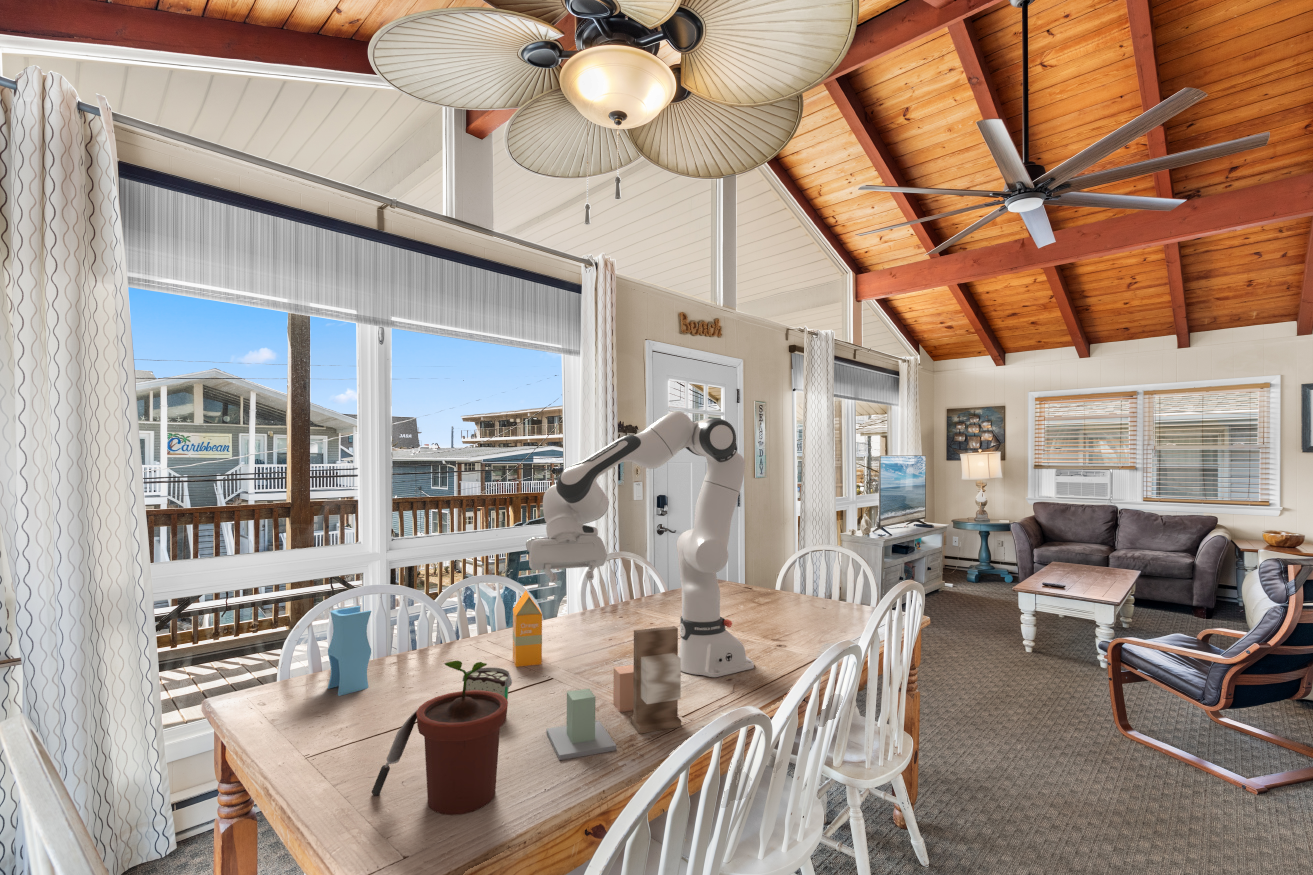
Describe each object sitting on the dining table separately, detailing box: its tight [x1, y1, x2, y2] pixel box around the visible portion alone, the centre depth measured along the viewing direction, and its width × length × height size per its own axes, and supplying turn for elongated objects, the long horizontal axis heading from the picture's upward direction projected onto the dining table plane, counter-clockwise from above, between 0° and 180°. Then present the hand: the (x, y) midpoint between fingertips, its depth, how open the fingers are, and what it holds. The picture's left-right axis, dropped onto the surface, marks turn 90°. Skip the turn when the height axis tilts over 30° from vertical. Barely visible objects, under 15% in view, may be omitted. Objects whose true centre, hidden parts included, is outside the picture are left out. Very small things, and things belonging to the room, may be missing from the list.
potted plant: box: [371, 660, 509, 816], centre depth 113 cm, size 18×22×25 cm
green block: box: [566, 688, 596, 744], centre depth 134 cm, size 5×5×9 cm
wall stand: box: [629, 625, 682, 735], centre depth 141 cm, size 10×8×22 cm
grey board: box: [546, 719, 617, 761], centre depth 133 cm, size 12×13×1 cm
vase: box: [327, 605, 372, 697], centre depth 163 cm, size 8×8×20 cm
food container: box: [462, 666, 513, 700], centre depth 147 cm, size 12×6×10 cm, turn 71°
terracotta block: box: [612, 664, 634, 713], centre depth 152 cm, size 5×5×9 cm
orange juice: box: [512, 590, 543, 668], centre depth 185 cm, size 8×9×20 cm
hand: (572, 580), depth 158 cm, fingers open, 8 cm apart
